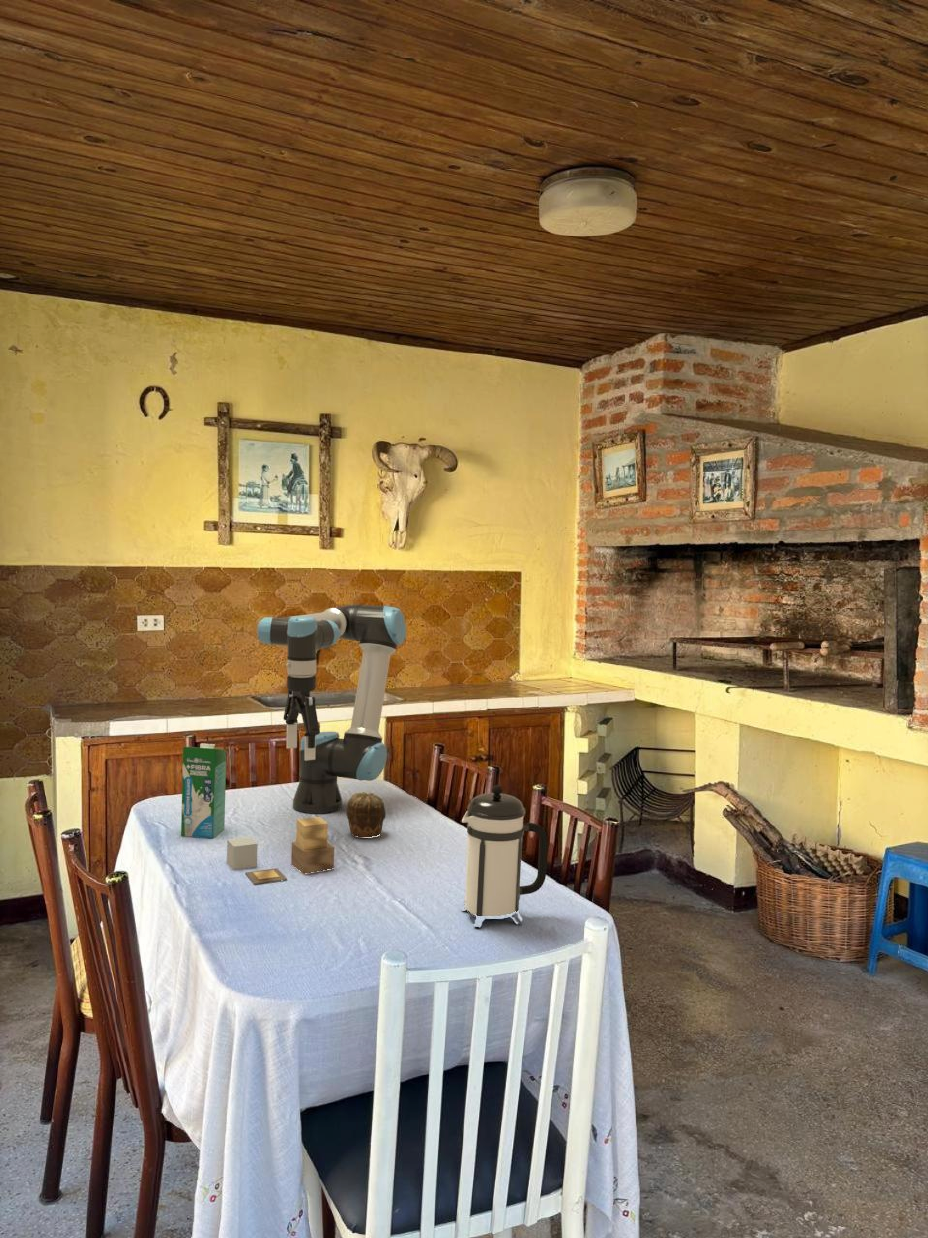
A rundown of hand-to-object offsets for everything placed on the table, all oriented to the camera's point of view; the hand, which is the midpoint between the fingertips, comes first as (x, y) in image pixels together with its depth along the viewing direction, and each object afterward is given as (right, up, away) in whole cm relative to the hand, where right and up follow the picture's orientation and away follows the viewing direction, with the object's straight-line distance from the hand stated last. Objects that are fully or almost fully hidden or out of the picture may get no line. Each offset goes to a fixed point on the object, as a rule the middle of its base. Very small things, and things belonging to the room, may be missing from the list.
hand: (300, 753), depth 244 cm
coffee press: (+51, -31, -40) cm, 71 cm away
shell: (+16, -25, +14) cm, 33 cm away
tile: (-4, -27, -22) cm, 35 cm away
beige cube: (-12, -26, -14) cm, 32 cm away
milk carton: (-29, -24, +10) cm, 39 cm away
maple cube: (+5, -21, -14) cm, 26 cm away
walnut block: (+5, -27, -14) cm, 31 cm away
